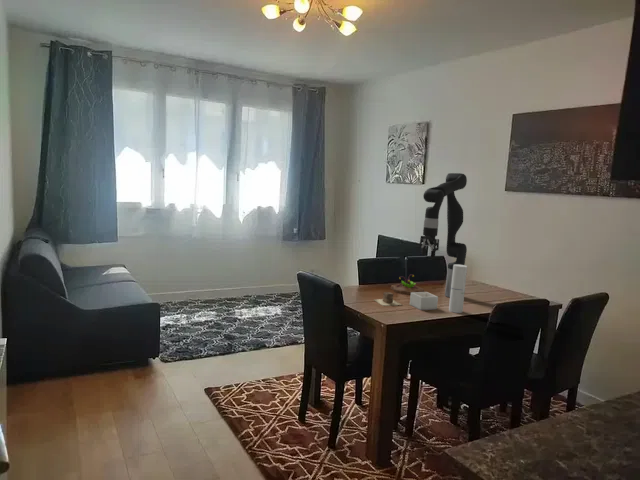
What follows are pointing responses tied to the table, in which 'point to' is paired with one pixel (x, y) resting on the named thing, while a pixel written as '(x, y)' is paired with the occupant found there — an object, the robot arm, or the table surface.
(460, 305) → the cylindrical container
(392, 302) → the oak lid
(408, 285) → the plant
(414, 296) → the off-white box
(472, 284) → the table surface
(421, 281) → the table surface
